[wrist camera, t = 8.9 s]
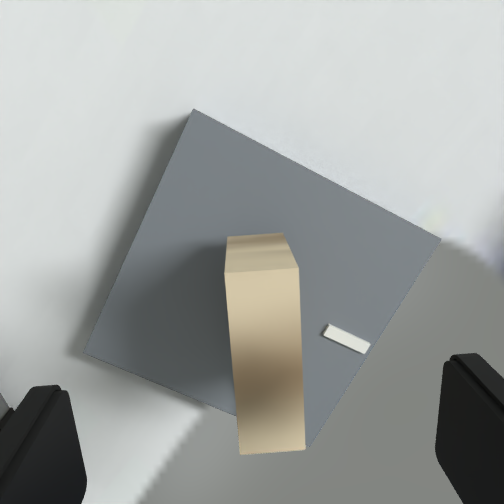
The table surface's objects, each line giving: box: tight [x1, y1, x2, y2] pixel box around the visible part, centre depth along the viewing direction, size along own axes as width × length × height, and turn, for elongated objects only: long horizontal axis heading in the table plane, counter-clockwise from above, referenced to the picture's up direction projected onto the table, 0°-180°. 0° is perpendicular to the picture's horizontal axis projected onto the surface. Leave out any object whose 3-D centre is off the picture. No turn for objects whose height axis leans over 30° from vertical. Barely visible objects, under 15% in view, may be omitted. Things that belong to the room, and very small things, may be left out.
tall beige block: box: [224, 233, 306, 455], centre depth 18 cm, size 10×2×6 cm, turn 4°
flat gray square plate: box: [83, 109, 441, 447], centre depth 22 cm, size 13×13×2 cm
